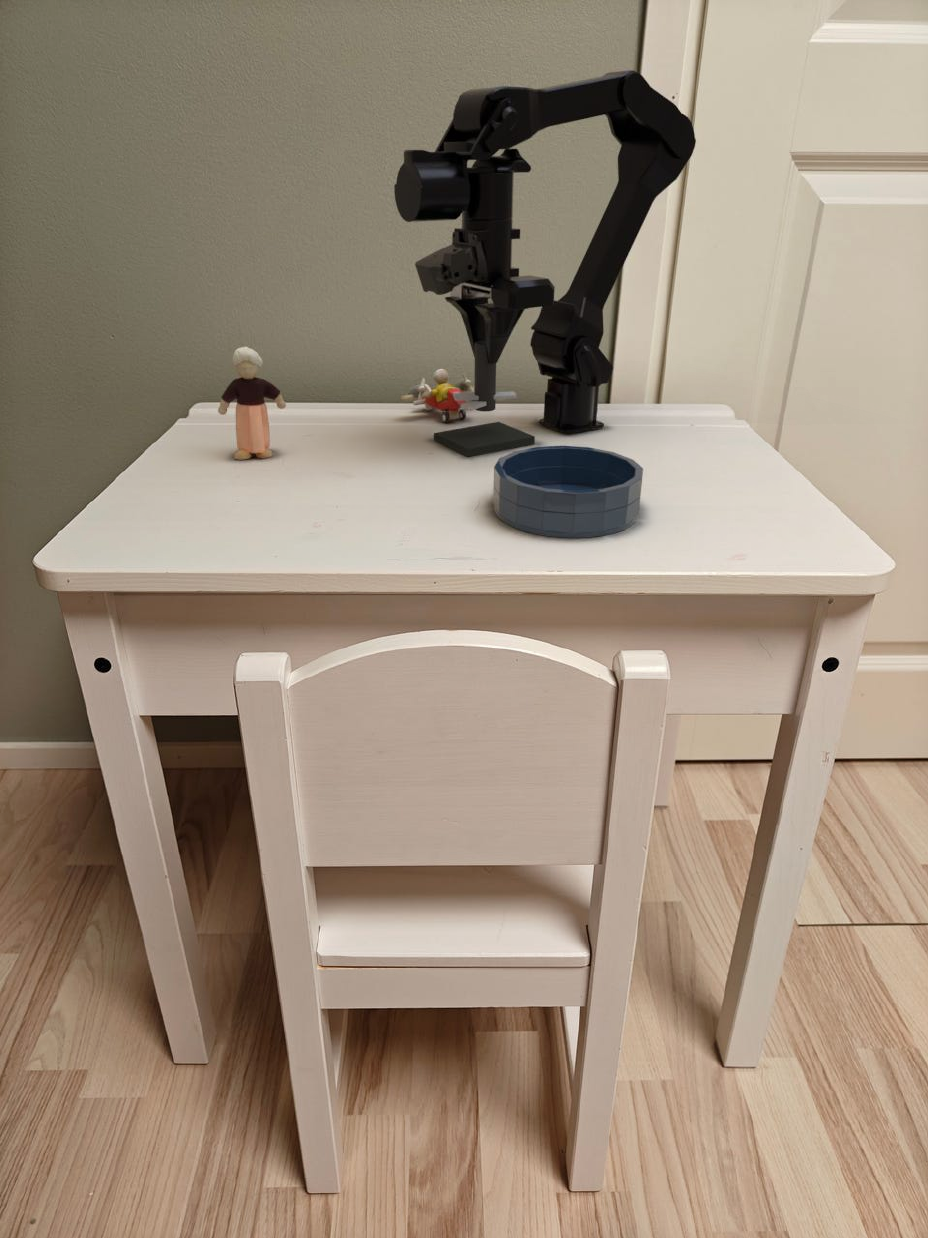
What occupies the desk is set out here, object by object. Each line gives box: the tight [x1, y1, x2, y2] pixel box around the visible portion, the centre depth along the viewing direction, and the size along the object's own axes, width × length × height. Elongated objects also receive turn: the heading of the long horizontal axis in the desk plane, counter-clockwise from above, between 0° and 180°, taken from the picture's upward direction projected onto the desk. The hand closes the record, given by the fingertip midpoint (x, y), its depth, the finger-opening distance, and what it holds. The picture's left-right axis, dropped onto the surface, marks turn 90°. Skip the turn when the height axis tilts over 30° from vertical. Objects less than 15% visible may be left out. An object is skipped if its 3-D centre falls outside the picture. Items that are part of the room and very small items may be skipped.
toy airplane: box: [400, 368, 475, 423], centre depth 118 cm, size 9×9×6 cm
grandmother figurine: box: [217, 346, 287, 461], centre depth 101 cm, size 8×4×13 cm, turn 117°
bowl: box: [492, 445, 644, 539], centre depth 87 cm, size 15×15×4 cm
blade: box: [454, 340, 518, 412], centre depth 105 cm, size 8×5×8 cm, turn 122°
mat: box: [433, 421, 536, 458], centre depth 108 cm, size 10×8×1 cm
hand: (485, 361), depth 104 cm, fingers closed on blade, 2 cm apart
